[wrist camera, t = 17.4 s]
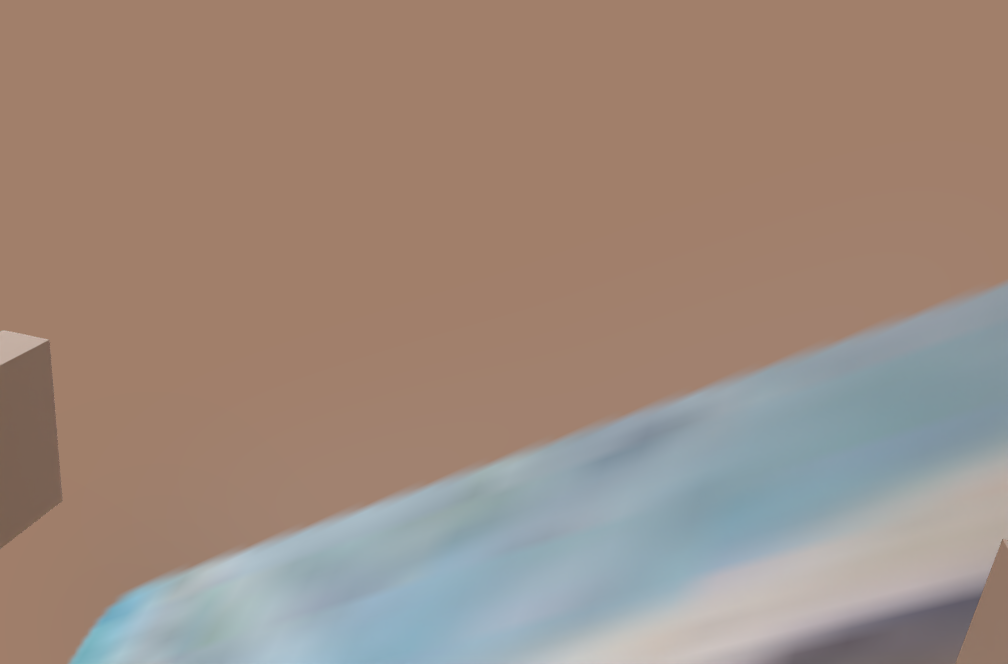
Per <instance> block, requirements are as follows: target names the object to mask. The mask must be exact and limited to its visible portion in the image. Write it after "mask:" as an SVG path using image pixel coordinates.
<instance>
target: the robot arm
mask: <svg viewBox="0 0 1008 664" xmlns="http://www.w3.org/2000/svg"><path fill="white" fill-rule="evenodd" d="M60 502H62V489H61V477H60V466H59V453H58V440H57V428H56V416H55V403H54V392H53V379H52V367H51V354H50V343H49V340H48V339H43V338H38V337H33V336H29V335H24V334H19V333H14V332H10V331H5V330H2V331H0V549H1V548H2V547H3V546H4V545H6V544H7V543H9V542H10V541H11V540H13V539H14V538H15V537H16V536H17V535H19V534H20V533H22V532H23V531H24V530H25V529H27V528H28V527H29V526H31V525H32V524H33V523H34V522H36V521H37V520H38V519H40V518H41V517H42V516H43V515H45V514H46V513H47V512H49V511H50V510H51V509H53V508H54V507H55V506H56V505H58V504H59V503H60ZM955 664H1008V540H1005V539H1002V542H1001V545H1000V547H999V550H998V553H997V555H996V558H995V560H994V563H993V566H992V568H991V571H990V574H989V576H988V579H987V582H986V584H985V587H984V590H983V592H982V595H981V597H980V600H979V603H978V605H977V608H976V611H975V613H974V616H973V619H972V621H971V624H970V626H969V629H968V632H967V634H966V637H965V640H964V642H963V645H962V648H961V650H960V653H959V655H958V658H957V661H956V663H955Z"/></svg>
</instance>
